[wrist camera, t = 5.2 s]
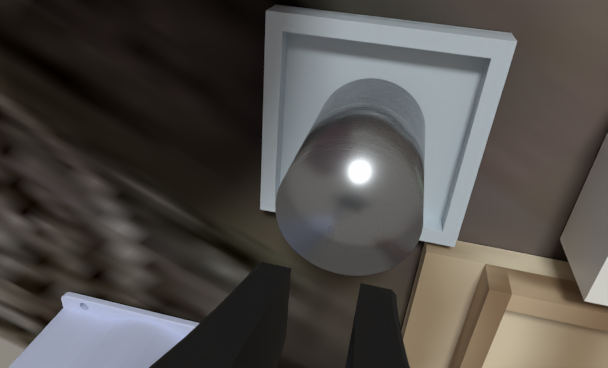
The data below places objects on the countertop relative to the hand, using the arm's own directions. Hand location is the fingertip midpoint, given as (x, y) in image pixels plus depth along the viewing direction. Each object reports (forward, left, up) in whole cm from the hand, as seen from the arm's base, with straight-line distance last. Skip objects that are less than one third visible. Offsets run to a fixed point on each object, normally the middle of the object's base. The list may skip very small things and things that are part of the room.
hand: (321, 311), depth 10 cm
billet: (0, 0, -10) cm, 10 cm away
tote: (0, 0, -10) cm, 10 cm away
